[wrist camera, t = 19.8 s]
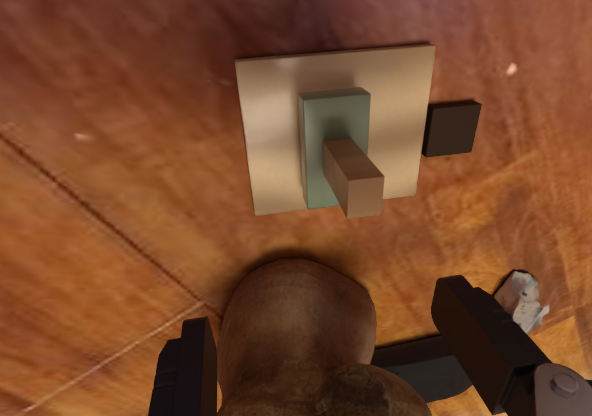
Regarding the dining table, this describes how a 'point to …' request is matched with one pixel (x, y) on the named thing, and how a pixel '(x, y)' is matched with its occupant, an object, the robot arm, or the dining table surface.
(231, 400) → the ceramic vessel
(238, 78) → the board
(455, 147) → the dark brown square tile
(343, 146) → the wall hook
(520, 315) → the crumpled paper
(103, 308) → the dining table surface
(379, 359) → the sandal
